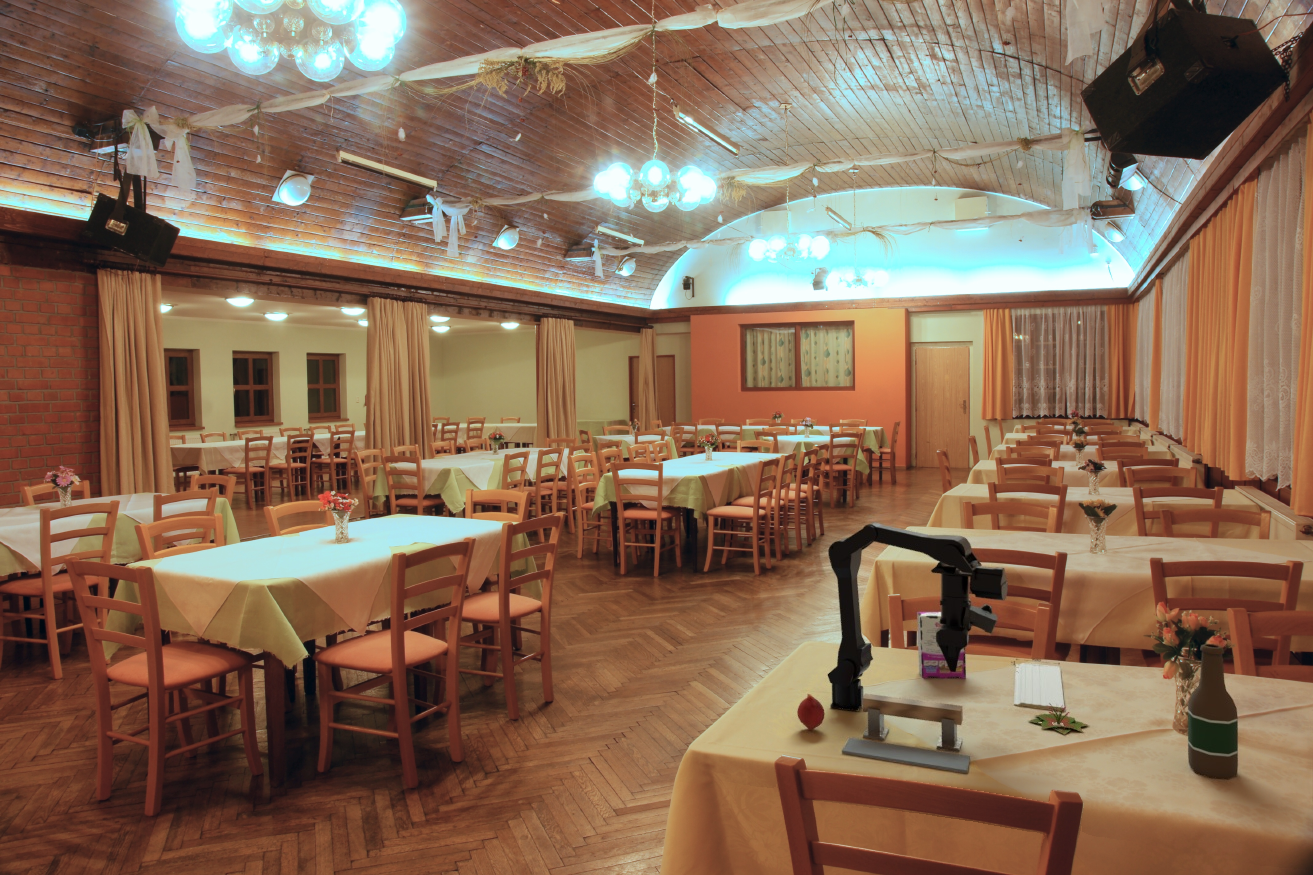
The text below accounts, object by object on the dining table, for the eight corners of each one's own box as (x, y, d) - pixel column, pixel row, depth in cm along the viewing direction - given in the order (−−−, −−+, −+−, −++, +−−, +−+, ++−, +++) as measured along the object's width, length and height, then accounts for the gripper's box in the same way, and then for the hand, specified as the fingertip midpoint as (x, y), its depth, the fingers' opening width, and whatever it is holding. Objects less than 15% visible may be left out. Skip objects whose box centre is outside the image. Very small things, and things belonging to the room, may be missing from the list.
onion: (826, 725, 179) (825, 690, 179) (822, 736, 173) (822, 699, 173) (800, 723, 181) (799, 688, 180) (795, 733, 175) (795, 697, 175)
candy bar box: (961, 672, 211) (960, 610, 211) (966, 679, 206) (965, 615, 206) (917, 672, 213) (916, 610, 212) (921, 678, 208) (920, 615, 207)
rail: (862, 711, 173) (862, 697, 173) (865, 706, 176) (865, 693, 176) (961, 725, 165) (961, 710, 165) (962, 719, 167) (962, 705, 167)
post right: (936, 748, 166) (936, 718, 165) (940, 737, 171) (939, 708, 171) (959, 751, 164) (958, 721, 163) (962, 740, 169) (961, 711, 169)
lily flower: (1101, 729, 174) (1101, 708, 174) (1066, 741, 168) (1066, 719, 168) (1050, 712, 184) (1050, 692, 184) (1016, 722, 179) (1016, 702, 178)
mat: (842, 753, 165) (842, 750, 165) (849, 740, 171) (849, 737, 171) (967, 773, 154) (967, 770, 154) (970, 758, 160) (970, 755, 160)
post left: (863, 737, 172) (862, 708, 172) (868, 726, 178) (868, 699, 177) (884, 740, 170) (883, 711, 170) (889, 729, 176) (888, 701, 175)
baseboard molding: (1007, 707, 188) (1064, 714, 183) (1007, 694, 188) (1064, 701, 183) (1010, 666, 217) (1059, 672, 212) (1010, 656, 216) (1059, 661, 211)
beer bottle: (1178, 763, 156) (1177, 640, 155) (1215, 760, 156) (1215, 638, 156) (1209, 781, 148) (1208, 652, 147) (1248, 778, 149) (1248, 650, 148)
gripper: (993, 608, 163) (993, 683, 164) (996, 588, 180) (996, 656, 181) (935, 603, 168) (935, 676, 168) (943, 584, 185) (943, 651, 185)
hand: (954, 665), depth 176 cm, fingers open, 9 cm apart
